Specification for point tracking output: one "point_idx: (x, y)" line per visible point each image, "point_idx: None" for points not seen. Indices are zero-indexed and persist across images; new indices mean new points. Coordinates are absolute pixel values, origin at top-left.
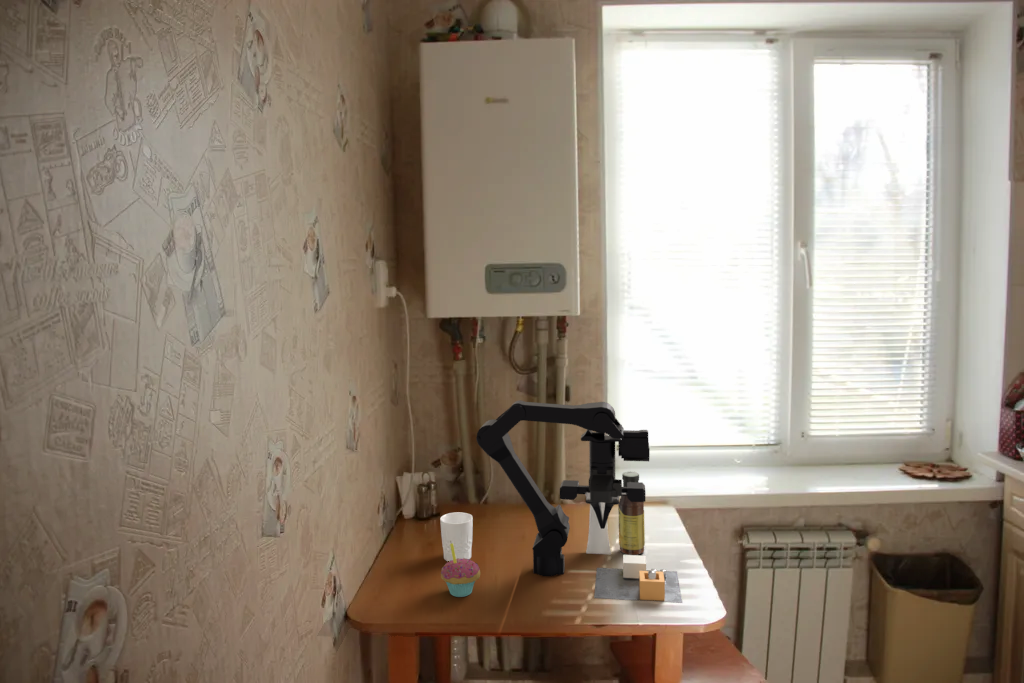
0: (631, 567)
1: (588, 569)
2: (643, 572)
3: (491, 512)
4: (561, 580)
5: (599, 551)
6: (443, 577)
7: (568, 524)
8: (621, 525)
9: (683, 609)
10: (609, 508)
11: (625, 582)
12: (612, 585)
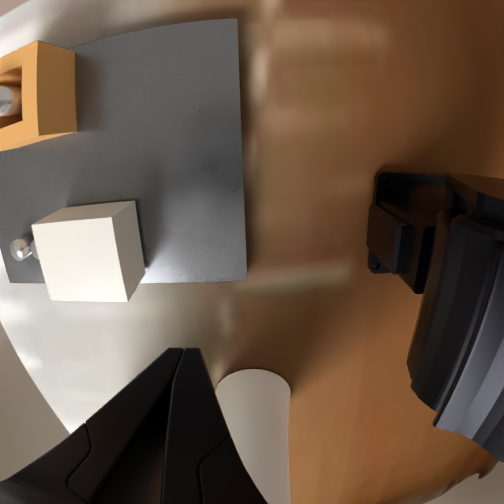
0: (87, 213)
1: (279, 292)
2: (24, 123)
3: (455, 467)
4: (371, 192)
5: (247, 385)
6: None
7: (432, 381)
8: None
9: None
10: (30, 487)
11: (125, 169)
12: (171, 132)
